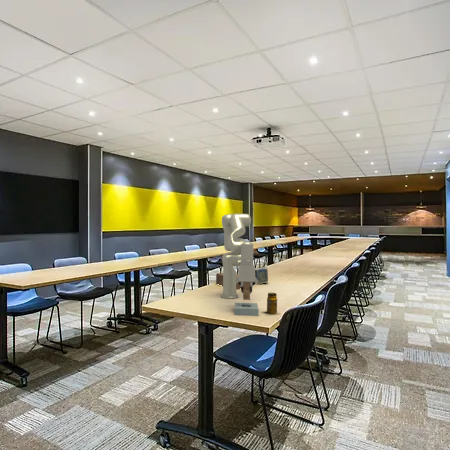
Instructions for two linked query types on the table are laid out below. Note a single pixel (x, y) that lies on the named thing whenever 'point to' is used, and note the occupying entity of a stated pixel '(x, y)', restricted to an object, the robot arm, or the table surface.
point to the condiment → (271, 304)
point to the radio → (261, 275)
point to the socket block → (246, 309)
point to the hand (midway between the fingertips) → (246, 292)
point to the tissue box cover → (220, 280)
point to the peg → (246, 290)
